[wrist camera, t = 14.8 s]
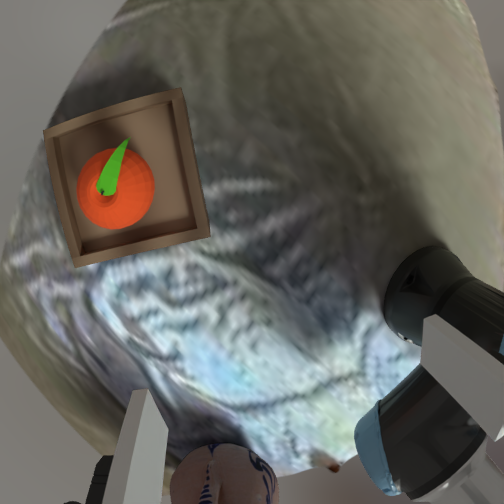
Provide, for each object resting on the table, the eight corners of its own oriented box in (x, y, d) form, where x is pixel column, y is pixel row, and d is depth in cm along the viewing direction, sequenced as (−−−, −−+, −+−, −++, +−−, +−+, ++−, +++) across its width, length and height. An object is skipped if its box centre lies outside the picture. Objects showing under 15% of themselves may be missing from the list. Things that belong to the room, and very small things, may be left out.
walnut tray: (185, 102, 32) (180, 87, 25) (209, 221, 36) (210, 236, 29) (71, 134, 31) (42, 130, 24) (97, 248, 35) (74, 268, 28)
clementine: (108, 129, 26) (82, 121, 20) (174, 151, 28) (165, 148, 21) (84, 208, 28) (53, 222, 21) (146, 230, 30) (131, 250, 23)
